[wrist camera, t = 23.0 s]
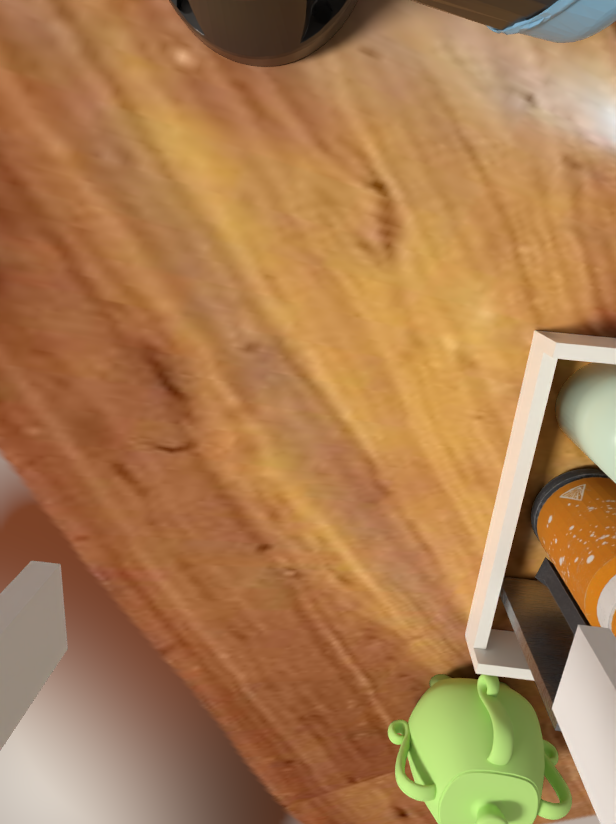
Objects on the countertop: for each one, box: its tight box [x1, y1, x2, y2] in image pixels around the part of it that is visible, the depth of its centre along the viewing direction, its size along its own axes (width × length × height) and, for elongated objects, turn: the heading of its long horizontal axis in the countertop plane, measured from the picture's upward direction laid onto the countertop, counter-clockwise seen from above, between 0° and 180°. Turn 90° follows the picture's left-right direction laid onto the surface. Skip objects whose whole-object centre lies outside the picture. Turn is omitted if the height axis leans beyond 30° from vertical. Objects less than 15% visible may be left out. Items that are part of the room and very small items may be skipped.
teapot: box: [388, 674, 572, 824], centre depth 53 cm, size 16×14×13 cm
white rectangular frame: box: [465, 330, 616, 680], centre depth 47 cm, size 32×14×5 cm, turn 175°
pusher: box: [499, 577, 574, 731], centre depth 45 cm, size 3×11×16 cm, turn 85°
